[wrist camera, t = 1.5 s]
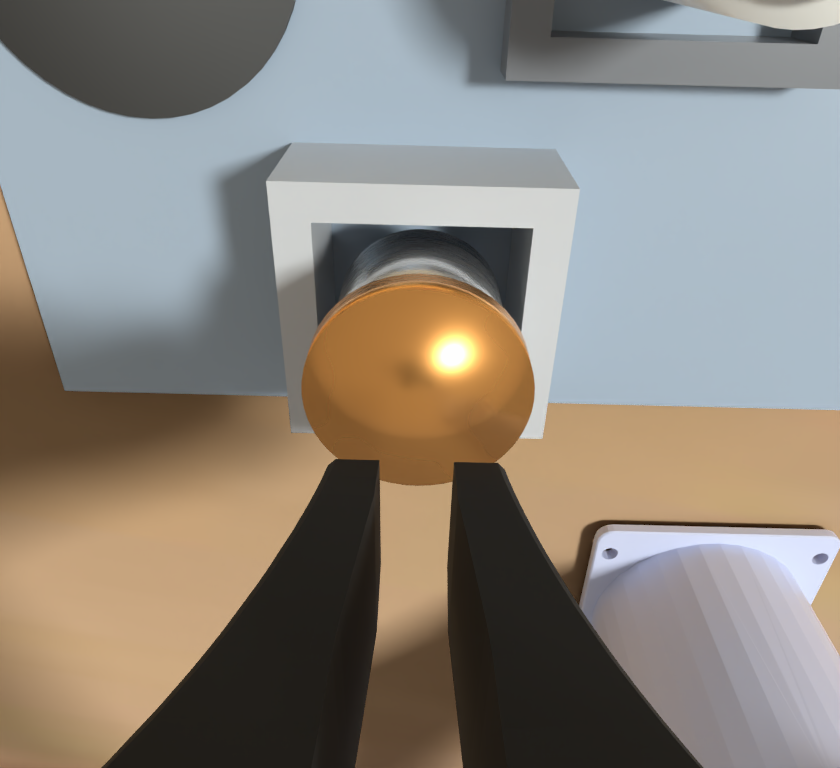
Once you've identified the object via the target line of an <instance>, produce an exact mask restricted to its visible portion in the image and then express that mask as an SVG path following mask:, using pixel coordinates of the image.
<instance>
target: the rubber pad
mask: <svg viewBox="0 0 840 768" xmlns="http://www.w3.org/2000/svg"><path fill="white" fill-rule="evenodd" d="M295 1H296V0H0V40H1V41H2V42H3V43H4V44H5V45H6V47H7V48H9V49H10V50H11V51H12V52H13V53H14V54H15V55H16V56H17V57H18V58H19V59H20V60H21V61H22V62H23V63H24V64H25V65H27V66H28V67H29V68H30V69H32V70H33V71H34V72H35V73H37V74H38V75H39V76H41V77H42V78H43V79H44V80H46V81H47V82H49V83H50V84H52V85H54V86H55V87H57V88H58V89H60V90H61V91H63V92H65V93H66V94H68V95H70V96H72V97H74V98H76V99H78V100H80V101H82V102H84V103H87V104H89V105H92V106H94V107H97V108H100V109H103V110H106V111H108V112H112V113H117V114H121V115H126V116H130V117H140V118H150V119H155V118H174V117H179V116H184V115H190V114H194V113H197V112H199V111H202V110H205V109H208V108H211V107H213V106H215V105H216V104H218V103H220V102H222V101H224V100H226V99H228V98H229V97H231V96H232V95H233V94H235V93H236V92H237V91H239V90H240V89H241V88H243V87H244V86H245V85H247V84H248V83H249V82H250V81H251V80H252V79H253V78H254V77H255V76H256V75H257V74H258V73H259V72H260V71H261V70H262V69H263V67H264V66H265V64H266V63H267V62H268V60H269V59H270V58H271V56H272V55H273V53H274V52H275V50H276V48H277V47H278V45H279V43H280V41H281V39H282V37H283V35H284V33H285V31H286V29H287V26H288V23H289V21H290V18H291V15H292V12H293V10H294V5H295Z"/></svg>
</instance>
